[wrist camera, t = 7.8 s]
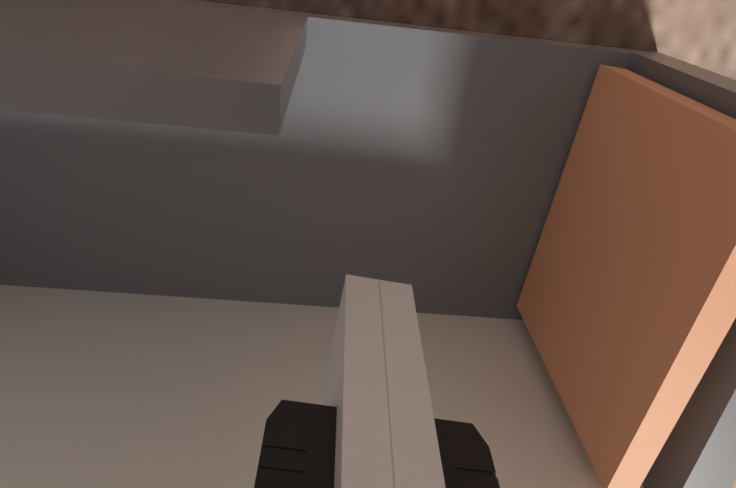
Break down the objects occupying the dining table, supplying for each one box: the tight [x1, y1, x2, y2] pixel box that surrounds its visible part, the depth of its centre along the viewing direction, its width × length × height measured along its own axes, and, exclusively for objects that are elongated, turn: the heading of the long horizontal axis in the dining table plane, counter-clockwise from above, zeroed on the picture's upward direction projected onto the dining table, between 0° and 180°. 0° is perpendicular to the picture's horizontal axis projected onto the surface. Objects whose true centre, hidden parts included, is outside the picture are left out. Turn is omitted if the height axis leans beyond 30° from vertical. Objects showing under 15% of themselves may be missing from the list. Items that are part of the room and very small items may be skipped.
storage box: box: [0, 0, 736, 488], centre depth 15 cm, size 26×11×10 cm, turn 84°
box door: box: [517, 64, 736, 488], centre depth 16 cm, size 9×1×8 cm, turn 171°
